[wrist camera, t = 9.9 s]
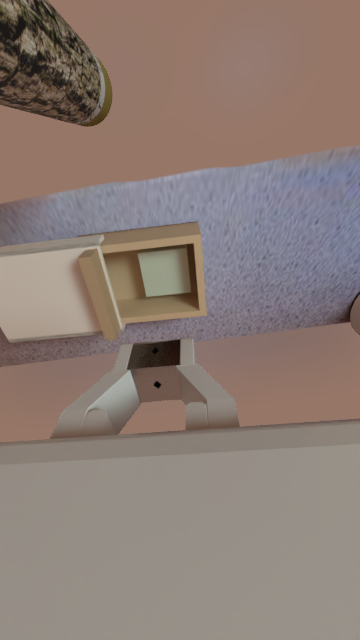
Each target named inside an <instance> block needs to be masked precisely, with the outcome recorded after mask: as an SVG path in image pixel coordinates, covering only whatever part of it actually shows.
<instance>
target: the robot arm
mask: <svg viewBox="0 0 360 640" xmlns="http://www.w3.org/2000/svg"><path fill="white" fill-rule="evenodd" d="M350 322H351V325H352V327H353V329H354V330H355V331H356V332H357V333H358V334H360V294H359V296H358V297H357V299H356V300H355V302H354V304H353V306H352V309H351V313H350ZM181 399H182V401H183V402H184V403H185V405H186V430H182V431H168V432H152V433H138V434H123V435H118V434H119V432H120V431H121V430H122V428H123V427H124V426H125V424H126V423H127V421H128V420H129V419H130V418H131V416H132V415H133V414H134V412H135V411H136V410H137V408H138V407H139V406H140V404H141V402H151V401H161V400H181ZM0 640H360V419H349V420H334V421H319V422H304V423H289V424H274V425H259V426H245V427H240V426H239V421H238V416H237V410H236V405H235V400H234V398H233V397H232V396H231V395H230V394H229V393H228V392H227V391H226V390H225V389H224V388H223V387H222V386H220V385H219V384H218V383H217V382H216V381H215V380H214V379H213V378H212V377H211V376H210V375H209V374H208V373H207V372H206V371H205V370H204V369H203V368H202V367H201V366H200V365H198V364H197V363H196V355H195V347H194V340H193V337H191V338H183V339H178V340H168V341H156V342H143V343H131V344H123V345H121V347H120V350H119V353H118V357H117V359H116V363H115V366H114V369H113V371H110V372H108V373H107V374H106V375H105V376H103V377H102V378H101V379H100V380H99V381H98V382H96V383H95V384H94V385H93V386H92V387H90V388H89V389H88V390H87V391H86V392H85V393H84V394H82V395H81V396H80V397H79V398H78V399H76V400H75V401H74V402H73V403H72V404H70V405H69V406H68V407H67V408H66V409H65V410H63V412H62V414H61V416H60V418H59V420H58V422H57V425H56V427H55V429H54V431H53V433H52V435H51V437H50V439H46V440H31V441H16V442H1V443H0Z"/></svg>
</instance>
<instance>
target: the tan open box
mask: <svg viewBox="0 0 360 640" xmlns="http://www.w3.org/2000/svg"><path fill="white" fill-rule="evenodd" d="M102 234H103V236H104V240H103V241H102V242H101V243H100V247H101V251H102V254H103V258H104V261H105V265H106V268H107V272H108V275H109V279H110V282H111V286H112V289H113V293H114V296H115V300H116V303H117V307H118V310H119V314H120V317H121V321H122V324H126V323H136V322H147V321H157V320H167V319H178V318H188V317H198V316H207V311H206V297H205V282H204V268H203V253H202V239H201V232H200V228H199V224H198V222H189V223H181V224H173V225H164V226H156V227H148V228H139V229H131V230H123V231H114V232H106V233H98V234H89V235H81V236H78V237H85V236H94V235H102Z"/></svg>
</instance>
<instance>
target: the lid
mask: <svg viewBox="0 0 360 640" xmlns="http://www.w3.org/2000/svg"><path fill="white" fill-rule="evenodd" d="M103 240H104V236H103V234H102V235H94V236H85V237H77V238H69V239H60V240H52V241H43V242H35V243H27V244H18V245H10V246H2V247H0V327H1V329H2V331H3V332H4V334H5V336H6V337H7V339H8V341H9V342H10V343H14V342H24V341H35V340H45V339H56V338H66V337H77V336H87V335H97V334H104V337H105V340H116V339H117V336H118V333H119V332H123V331H124V328H125V325H126V324H122V321H121V317H120V314H119V310H118V307H117V303H116V300H115V296H114V293H113V289H112V286H111V282H110V279H109V275H108V272H107V268H106V265H105V261H104V258H103V254H102V251H101V247H100V243H101V242H102V241H103Z"/></svg>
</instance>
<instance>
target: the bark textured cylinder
mask: <svg viewBox="0 0 360 640" xmlns="http://www.w3.org/2000/svg"><path fill="white" fill-rule="evenodd" d="M111 103H112V87H111V83H110V79H109V76H108V73H107V71H106V69H105V68H104V66H103V64H102V63H101V62H100V60H99V59H98V58H97V57H96V56H95V55H94V53H93V52H92V51H91V50H90V49H89V48H88V46H87V45H86V44H85V43H84V42H83V41H82V39H81V38H80V37H79V36H78V35H77V34H76V33H75V31H74V30H73V29H72V28H71V27H70V26H69V25H68V23H67V22H66V21H65V20H64V19H63V18H62V17H61V15H60V14H59V13H58V12H57V11H56V10H55V9H54V7H53V6H52V5H51V4H50V3H49V2H48V1H47V0H0V105H3V106H7V107H12V108H15V109H19V110H23V111H26V112H31V113H34V114H38V115H42V116H46V117H50V118H54V119H57V120H61V121H65V122H70V123H73V124H78V125H81V126H94V125H97V124H98V123H100V122H101V121H103V120H104V118H105V117H106V116H107V114H108V112H109V110H110V107H111Z"/></svg>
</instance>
